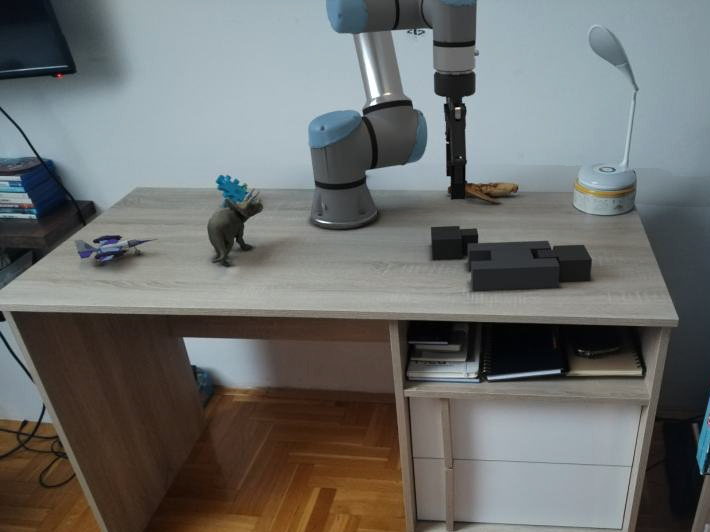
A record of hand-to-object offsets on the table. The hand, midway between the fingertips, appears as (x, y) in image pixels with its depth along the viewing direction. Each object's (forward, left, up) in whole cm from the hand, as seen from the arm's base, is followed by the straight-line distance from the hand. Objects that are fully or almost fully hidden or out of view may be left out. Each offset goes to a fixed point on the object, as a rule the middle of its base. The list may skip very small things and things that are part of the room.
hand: (455, 187), depth 127 cm
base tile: (+11, +10, -14) cm, 21 cm away
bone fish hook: (-33, +9, -14) cm, 37 cm away
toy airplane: (-4, -70, -14) cm, 72 cm away
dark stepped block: (+11, +20, -14) cm, 27 cm away
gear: (-34, -52, -14) cm, 64 cm away
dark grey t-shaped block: (-1, 0, -14) cm, 14 cm away
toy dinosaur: (-3, -47, -14) cm, 49 cm away
